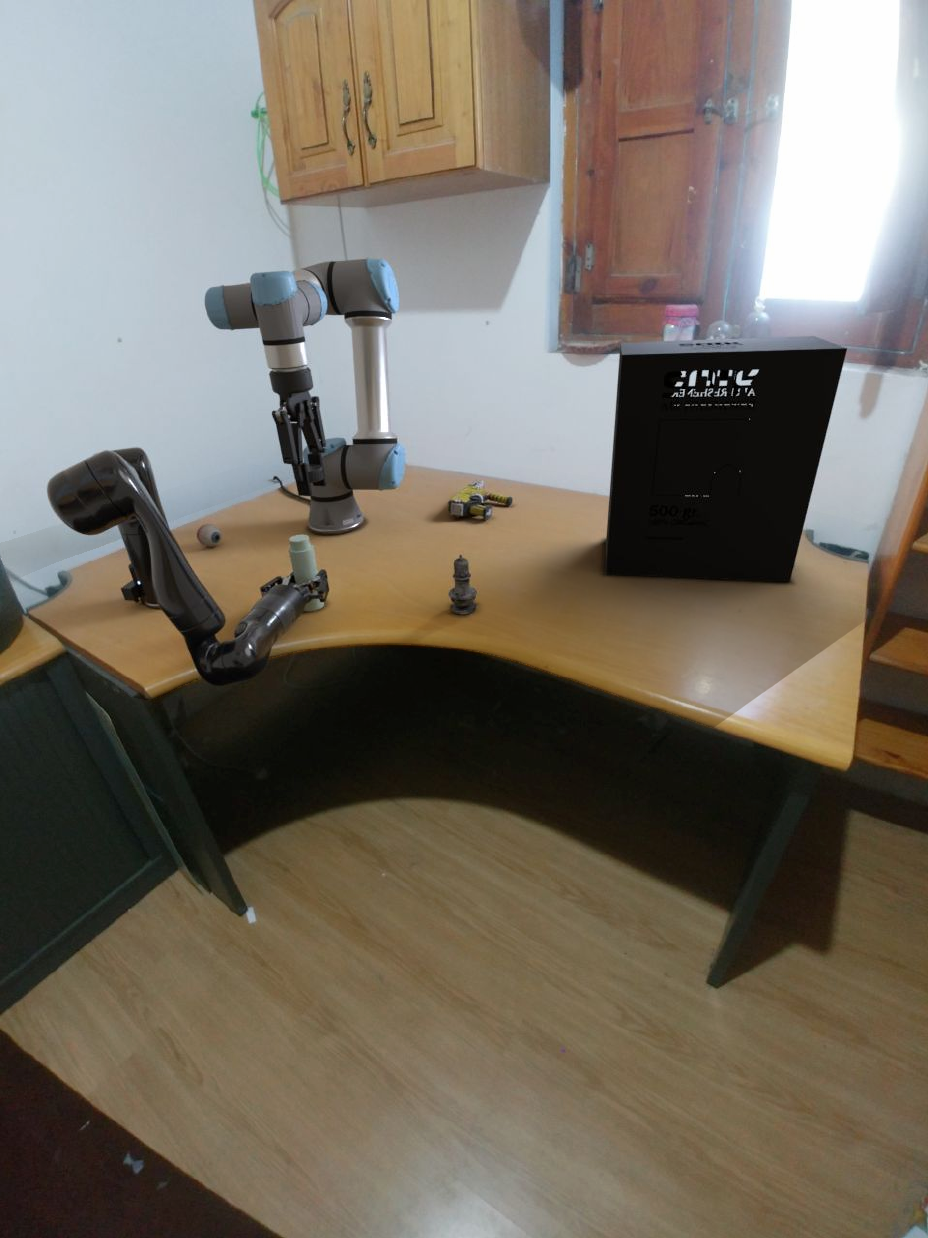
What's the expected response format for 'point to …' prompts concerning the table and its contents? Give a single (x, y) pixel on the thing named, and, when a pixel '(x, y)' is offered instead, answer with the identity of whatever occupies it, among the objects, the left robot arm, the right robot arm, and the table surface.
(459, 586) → the dark grey turned figure
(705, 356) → the cardboard box
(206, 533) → the eyeball
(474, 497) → the toy gun
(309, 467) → the lid
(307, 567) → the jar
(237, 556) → the table surface
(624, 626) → the table surface
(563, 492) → the table surface
